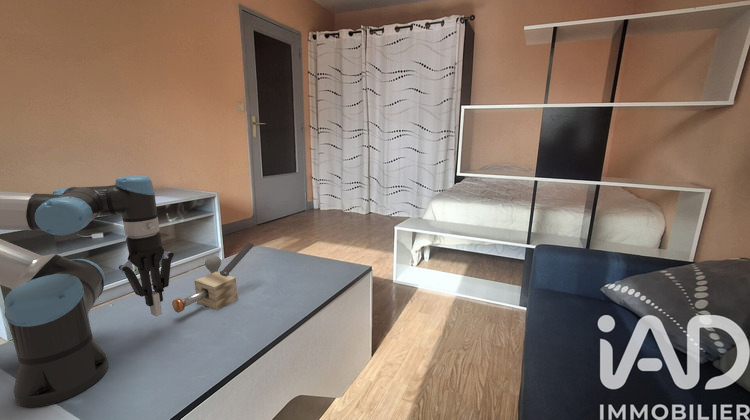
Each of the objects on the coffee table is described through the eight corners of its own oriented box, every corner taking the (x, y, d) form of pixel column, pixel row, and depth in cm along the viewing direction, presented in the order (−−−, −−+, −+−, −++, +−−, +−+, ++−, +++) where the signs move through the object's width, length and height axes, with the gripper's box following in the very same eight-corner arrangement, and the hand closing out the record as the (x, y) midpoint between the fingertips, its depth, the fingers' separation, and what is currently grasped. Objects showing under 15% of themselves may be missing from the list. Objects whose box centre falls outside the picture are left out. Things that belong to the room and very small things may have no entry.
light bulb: (218, 283, 120) (215, 258, 118) (204, 283, 120) (201, 258, 118) (225, 277, 126) (222, 253, 123) (211, 277, 126) (209, 253, 123)
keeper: (227, 276, 108) (225, 274, 107) (220, 274, 109) (219, 272, 109) (254, 245, 117) (253, 243, 117) (248, 244, 119) (247, 242, 118)
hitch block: (216, 310, 102) (214, 287, 100) (197, 302, 106) (194, 280, 105) (237, 299, 109) (235, 277, 107) (218, 292, 113) (216, 271, 111)
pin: (181, 314, 95) (179, 301, 94) (173, 310, 96) (171, 298, 95) (220, 295, 106) (219, 284, 105) (212, 292, 108) (211, 281, 107)
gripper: (122, 243, 77) (138, 329, 83) (176, 230, 89) (187, 306, 94) (107, 238, 81) (123, 322, 86) (160, 226, 92) (172, 300, 97)
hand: (156, 314), depth 90 cm, fingers closed
